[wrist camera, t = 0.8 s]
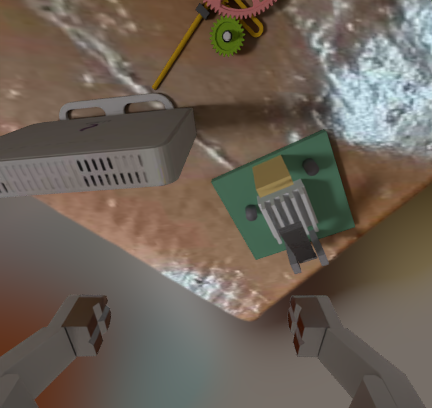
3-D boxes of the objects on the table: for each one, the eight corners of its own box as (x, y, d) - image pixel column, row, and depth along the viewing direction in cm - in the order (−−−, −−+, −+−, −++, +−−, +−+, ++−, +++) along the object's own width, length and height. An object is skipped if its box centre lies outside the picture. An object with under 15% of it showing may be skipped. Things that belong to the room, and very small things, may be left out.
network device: (193, 88, 38) (162, 120, 21) (201, 145, 43) (181, 209, 26) (35, 106, 41) (-105, 146, 24) (58, 157, 45) (-46, 223, 28)
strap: (301, 220, 33) (304, 227, 32) (315, 253, 46) (317, 258, 45) (277, 228, 33) (279, 235, 33) (298, 258, 47) (300, 264, 46)
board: (324, 129, 40) (346, 148, 33) (352, 223, 49) (375, 256, 41) (211, 179, 46) (207, 206, 38) (255, 255, 55) (259, 290, 47)
